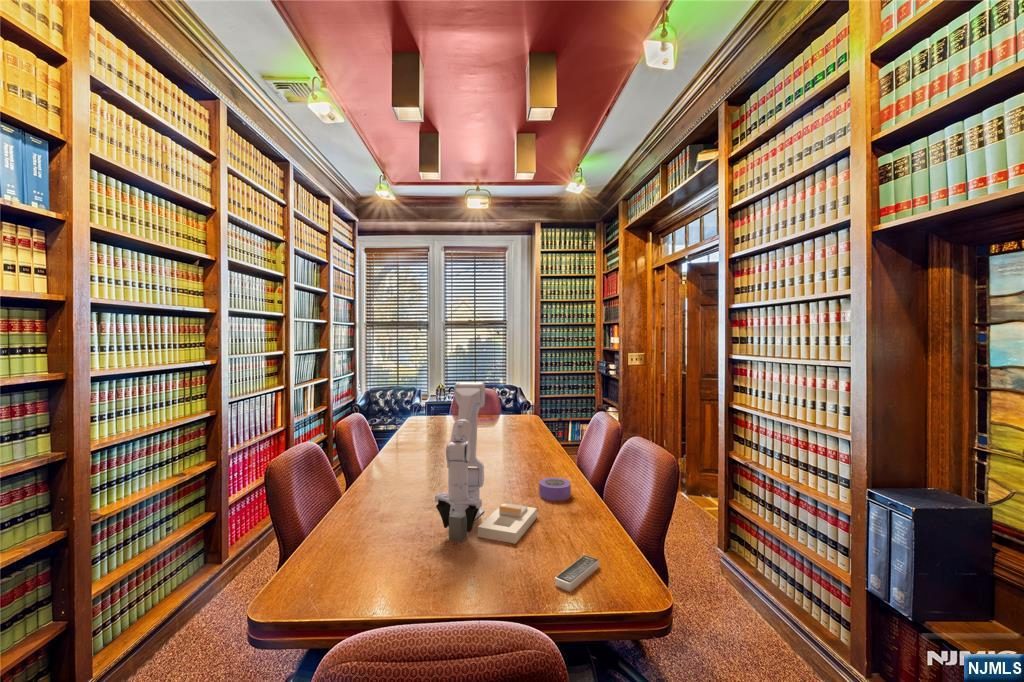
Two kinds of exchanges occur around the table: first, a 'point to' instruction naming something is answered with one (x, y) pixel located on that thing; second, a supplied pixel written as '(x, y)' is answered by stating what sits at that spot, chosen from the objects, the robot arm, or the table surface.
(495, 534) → the socket plate
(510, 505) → the shutter
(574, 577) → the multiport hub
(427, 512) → the table surface
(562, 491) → the tape roll
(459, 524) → the plug
